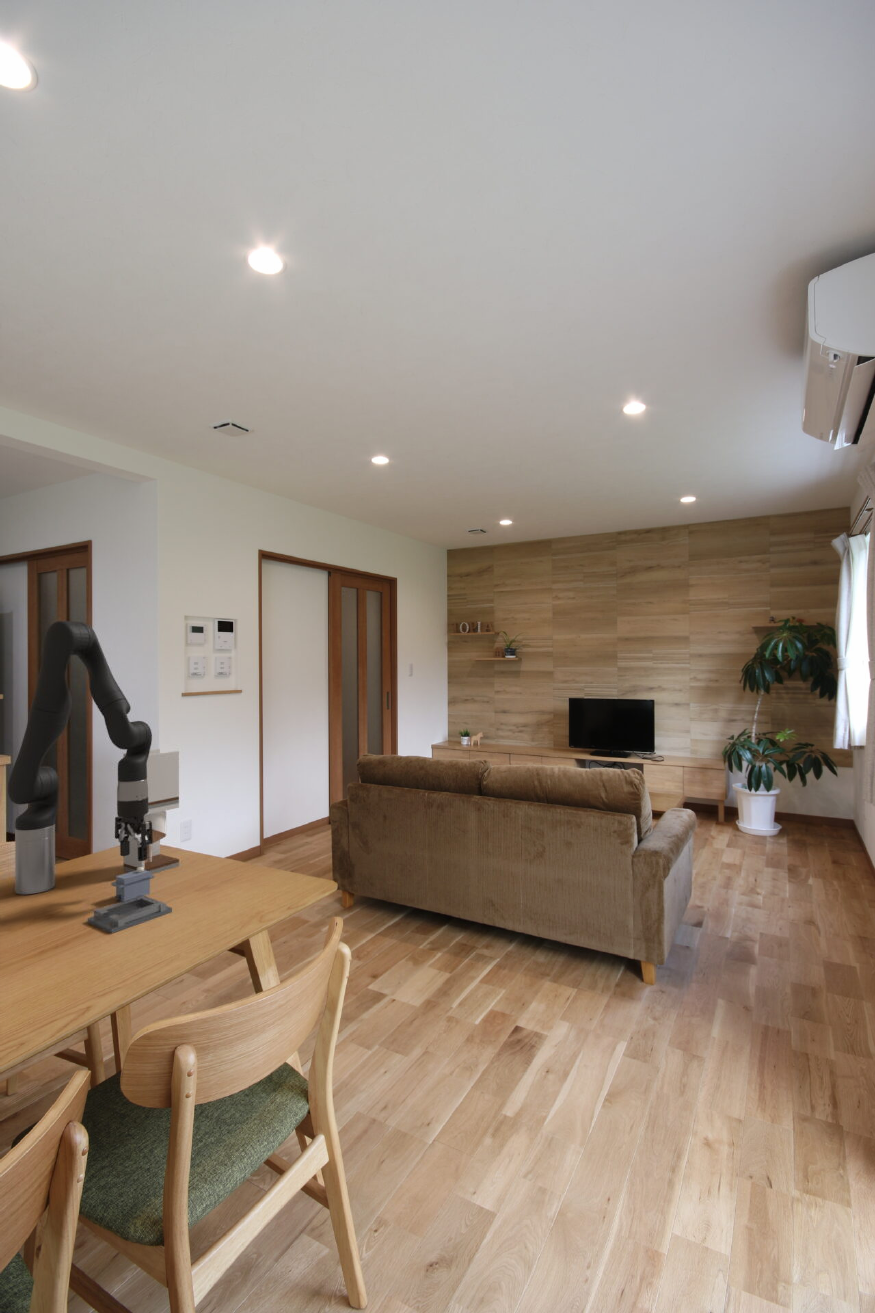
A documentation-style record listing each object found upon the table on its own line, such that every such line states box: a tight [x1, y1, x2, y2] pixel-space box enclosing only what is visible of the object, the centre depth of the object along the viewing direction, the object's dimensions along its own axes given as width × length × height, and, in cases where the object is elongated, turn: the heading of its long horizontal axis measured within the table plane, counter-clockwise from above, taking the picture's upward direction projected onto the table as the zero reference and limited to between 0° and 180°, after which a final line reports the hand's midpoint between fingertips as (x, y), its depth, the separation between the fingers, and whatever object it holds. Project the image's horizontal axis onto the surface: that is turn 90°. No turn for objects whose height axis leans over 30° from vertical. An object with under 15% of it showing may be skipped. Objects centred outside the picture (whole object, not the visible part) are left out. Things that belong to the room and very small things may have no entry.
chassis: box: [87, 895, 173, 934], centre depth 153 cm, size 15×11×2 cm
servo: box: [110, 867, 155, 902], centre depth 167 cm, size 10×4×7 cm, turn 145°
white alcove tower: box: [122, 748, 180, 875], centre depth 191 cm, size 11×11×35 cm
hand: (133, 858), depth 167 cm, fingers open, 8 cm apart
